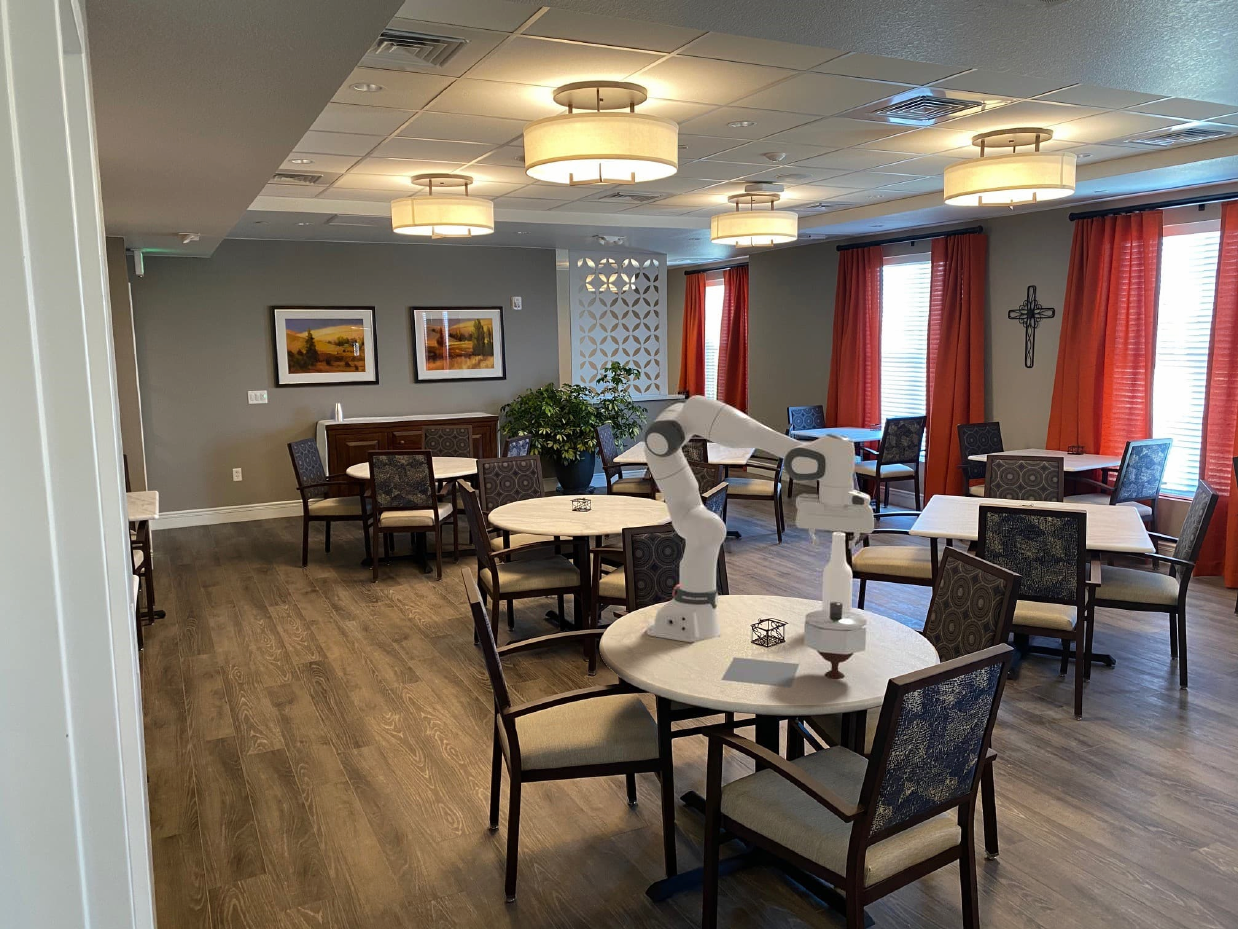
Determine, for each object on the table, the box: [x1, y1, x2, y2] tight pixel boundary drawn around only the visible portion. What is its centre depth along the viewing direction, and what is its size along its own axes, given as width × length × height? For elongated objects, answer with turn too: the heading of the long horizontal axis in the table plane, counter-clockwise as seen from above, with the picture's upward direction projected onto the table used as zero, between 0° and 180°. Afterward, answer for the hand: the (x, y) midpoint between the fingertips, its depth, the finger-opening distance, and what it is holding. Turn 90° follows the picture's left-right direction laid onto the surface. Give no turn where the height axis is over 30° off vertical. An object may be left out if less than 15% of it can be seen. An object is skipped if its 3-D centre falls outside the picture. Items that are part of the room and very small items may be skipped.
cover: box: [803, 602, 867, 654], centre depth 238 cm, size 16×16×11 cm
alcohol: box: [821, 531, 853, 613], centre depth 280 cm, size 9×9×30 cm
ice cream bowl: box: [816, 650, 854, 680], centre depth 239 cm, size 11×11×15 cm
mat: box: [721, 656, 800, 688], centre depth 243 cm, size 18×18×1 cm
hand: (833, 546), depth 241 cm, fingers open, 8 cm apart
